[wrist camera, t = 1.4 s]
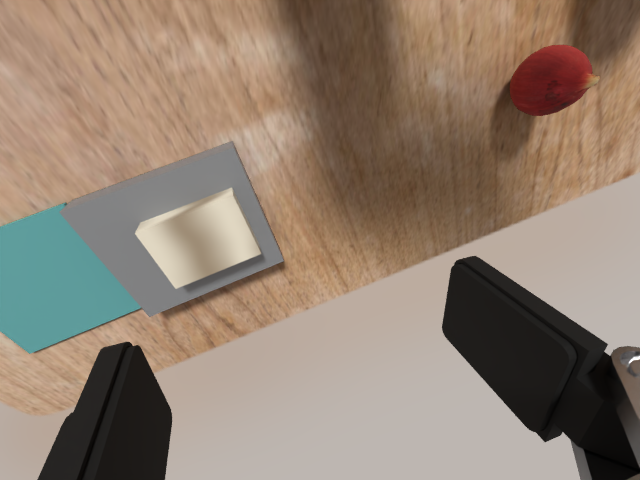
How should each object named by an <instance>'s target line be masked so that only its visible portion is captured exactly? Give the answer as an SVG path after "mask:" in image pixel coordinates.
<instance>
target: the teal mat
mask: <svg viewBox="0 0 640 480" xmlns="http://www.w3.org/2000/svg"><path fill="white" fill-rule="evenodd" d="M66 205H67V203H63V204H60V205H58V206H55V207H52V208H50V209H47V210H44V211H41V212H39V213H36V214H33V215H31V216H28V217H25V218H23V219H20V220H17V221H14V222H12V223H9V224H6V225H4V226H1V227H0V331H1V332H2V333H3V334H5V335H6V336H7V337H9V338H10V339H11V340H12V341H14V342H15V343H16V344H18V345H19V346H20V347H22V348H23V349H24V350H26V351H27V352H28V353H29V354H30V353H33V352H35V351H38V350H40V349H43V348H45V347H48V346H50V345H52V344H55V343H57V342H60V341H62V340H65V339H67V338H69V337H72V336H74V335H77V334H79V333H82V332H84V331H86V330H89V329H91V328H94V327H96V326H99V325H101V324H103V323H106V322H108V321H111V320H113V319H116V318H118V317H120V316H123V315H125V314H128V313H130V312H133V311H135V310H137V309H140V308H141V307H140V306H139V304H138V303H137V302H136V301H135V300H134V299H133V297H132V296H131V295H130V294H129V293H128V292H127V290H126V289H125V288H124V287H123V286H122V285H121V284H120V282H119V281H118V280H117V279H116V278H115V277H114V275H113V274H112V273H111V272H110V271H109V270H108V268H107V267H106V266H105V265H104V264H103V263H102V261H101V260H100V259H99V258H98V257H97V256H96V255H95V253H94V252H93V251H92V250H91V249H90V248H89V246H88V245H87V244H86V243H85V242H84V241H83V239H82V238H81V237H80V236H79V235H78V234H77V233H76V231H75V230H74V229H73V228H72V227H71V226H70V224H69V223H68V222H67V221H66V220H65V219H64V217H63V216H62V215H61V214H60V213H59V212H60V211H61V210H62V209H63V208H64V207H65V206H66Z"/></svg>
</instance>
